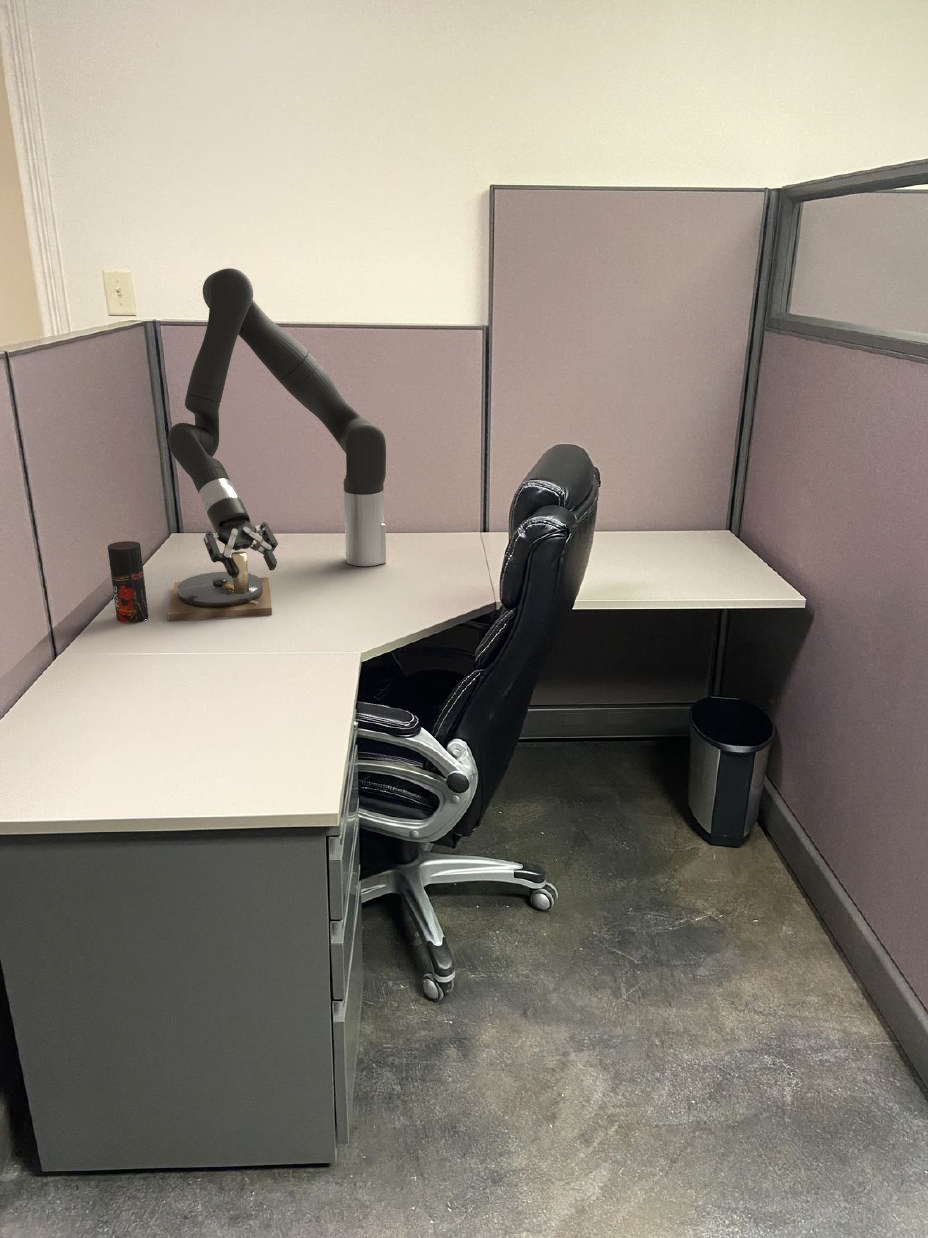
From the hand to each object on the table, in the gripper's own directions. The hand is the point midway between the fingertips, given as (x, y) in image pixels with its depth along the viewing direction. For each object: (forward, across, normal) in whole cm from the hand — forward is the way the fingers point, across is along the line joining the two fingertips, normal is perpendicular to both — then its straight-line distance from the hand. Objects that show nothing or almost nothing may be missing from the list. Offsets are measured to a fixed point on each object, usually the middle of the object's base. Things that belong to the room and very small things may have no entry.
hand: (255, 572), depth 185 cm
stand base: (-1, -3, +12) cm, 12 cm away
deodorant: (-2, -22, +14) cm, 26 cm away
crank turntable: (-2, -3, +10) cm, 11 cm away
